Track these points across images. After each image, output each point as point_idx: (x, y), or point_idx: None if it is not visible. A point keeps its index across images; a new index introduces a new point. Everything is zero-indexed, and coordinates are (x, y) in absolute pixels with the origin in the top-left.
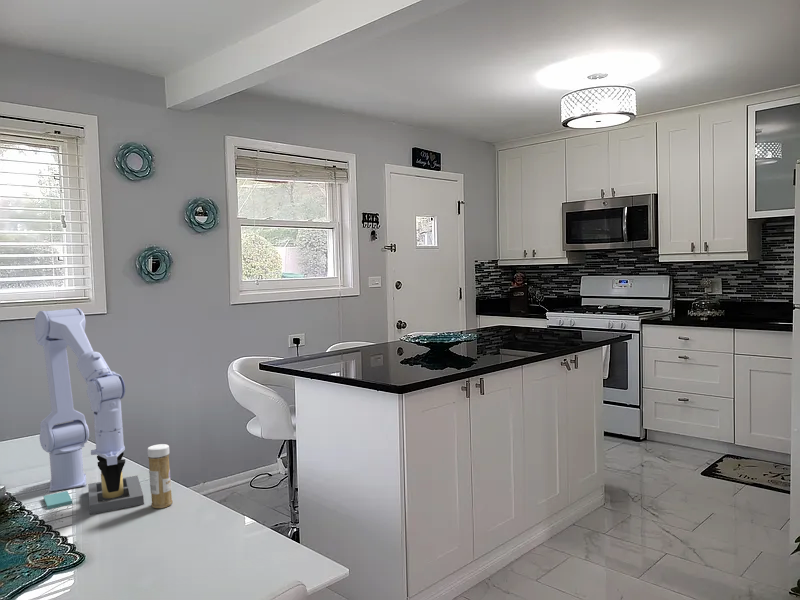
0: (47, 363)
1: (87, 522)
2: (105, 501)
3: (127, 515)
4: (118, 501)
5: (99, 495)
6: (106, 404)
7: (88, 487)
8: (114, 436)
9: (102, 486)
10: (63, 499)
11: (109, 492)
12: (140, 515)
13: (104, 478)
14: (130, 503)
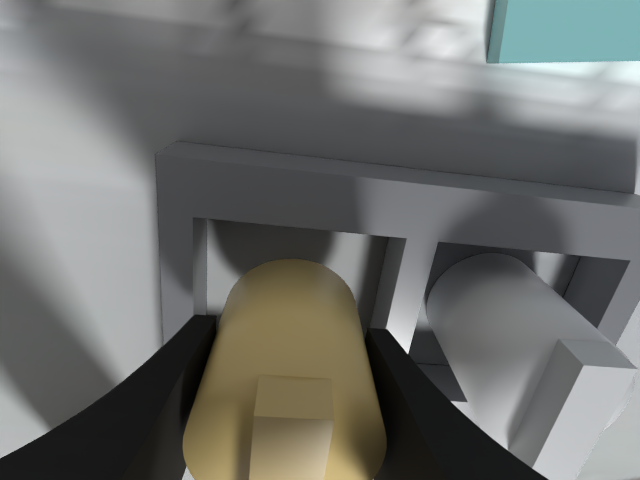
0: None
1: (25, 105)
2: (185, 260)
3: (46, 315)
4: (165, 322)
5: (400, 243)
6: None
7: (599, 204)
8: None
9: (266, 306)
10: (585, 1)
11: (189, 319)
12: (14, 363)
13: (116, 388)
14: None
